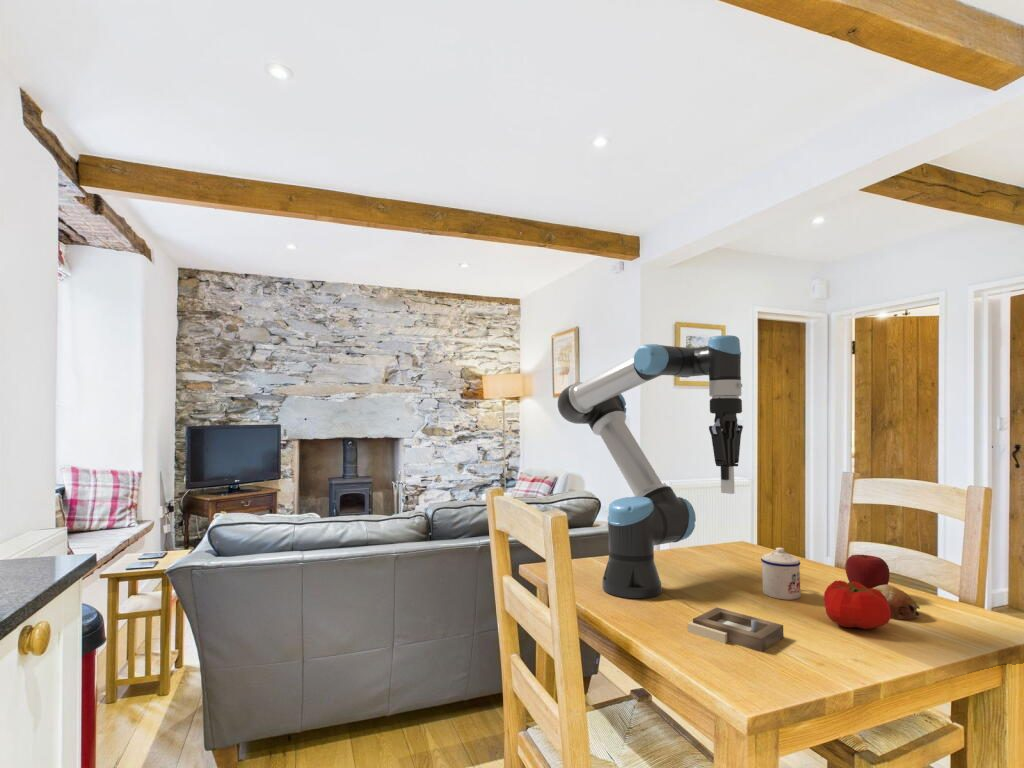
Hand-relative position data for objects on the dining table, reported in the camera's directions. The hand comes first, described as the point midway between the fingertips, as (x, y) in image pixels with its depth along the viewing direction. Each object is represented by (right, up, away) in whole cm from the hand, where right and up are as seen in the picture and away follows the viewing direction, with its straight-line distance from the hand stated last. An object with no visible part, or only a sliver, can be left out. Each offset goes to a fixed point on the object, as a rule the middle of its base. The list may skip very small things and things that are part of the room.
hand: (727, 492), depth 138 cm
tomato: (+21, -26, -17) cm, 37 cm away
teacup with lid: (+16, -27, +5) cm, 32 cm away
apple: (+37, -27, +4) cm, 46 cm away
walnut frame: (-8, -24, -25) cm, 35 cm away
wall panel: (-9, -25, -24) cm, 36 cm away
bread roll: (+34, -26, -9) cm, 44 cm away
